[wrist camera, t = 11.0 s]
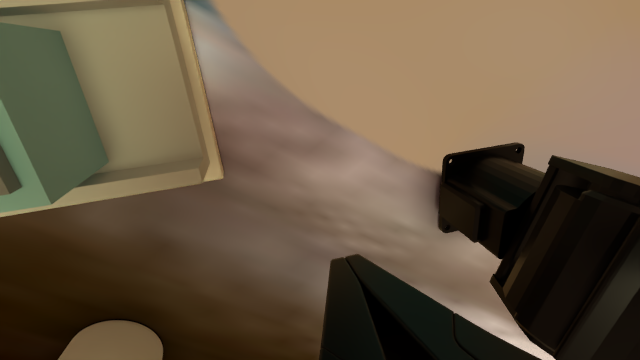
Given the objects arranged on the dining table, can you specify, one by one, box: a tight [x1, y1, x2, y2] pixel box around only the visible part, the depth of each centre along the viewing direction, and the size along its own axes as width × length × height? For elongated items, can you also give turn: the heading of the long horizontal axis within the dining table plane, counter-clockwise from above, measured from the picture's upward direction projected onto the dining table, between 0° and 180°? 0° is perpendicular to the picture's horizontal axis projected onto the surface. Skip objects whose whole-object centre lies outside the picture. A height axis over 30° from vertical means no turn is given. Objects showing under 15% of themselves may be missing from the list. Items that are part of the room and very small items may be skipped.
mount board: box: [0, 0, 224, 217], centre depth 14 cm, size 14×11×4 cm
